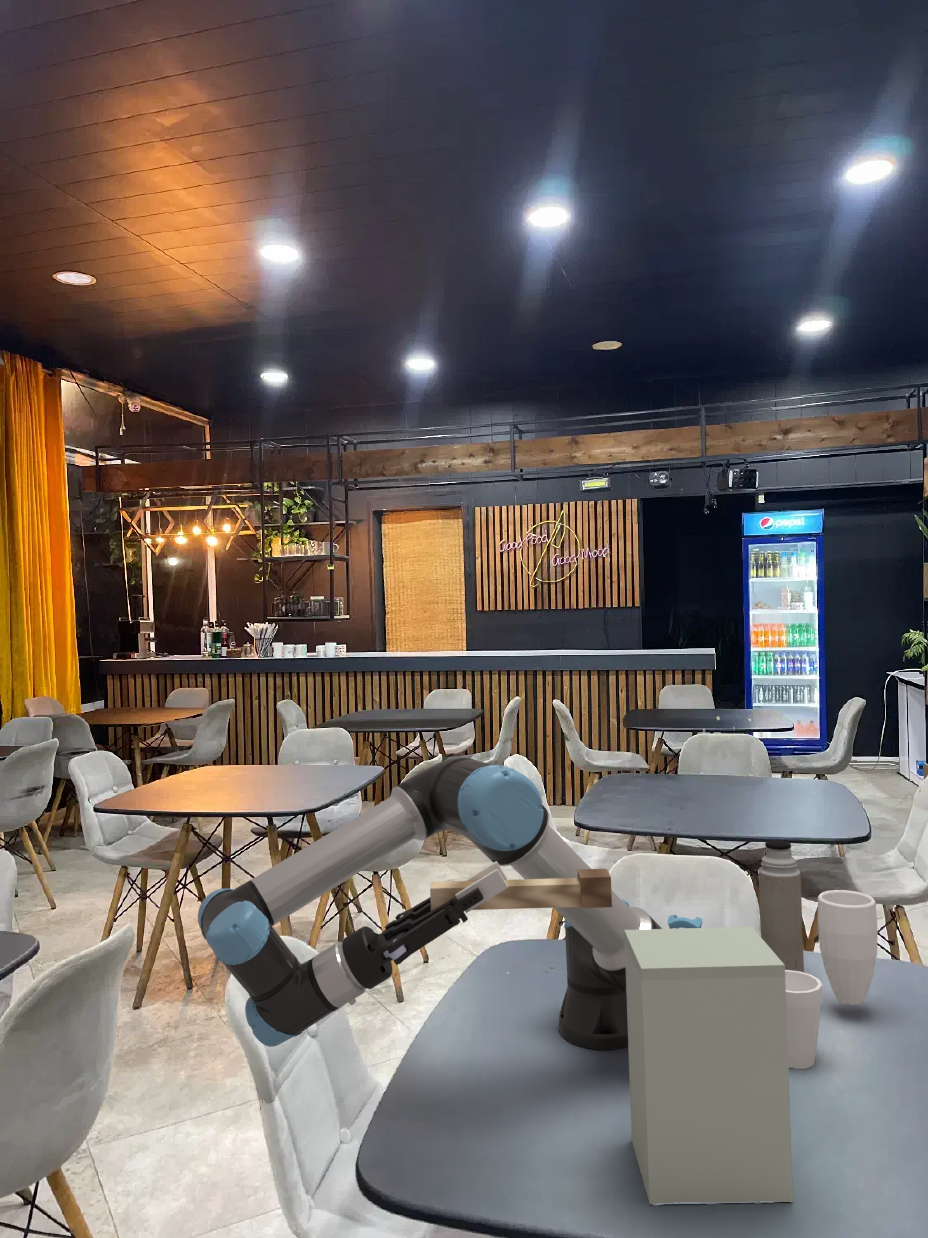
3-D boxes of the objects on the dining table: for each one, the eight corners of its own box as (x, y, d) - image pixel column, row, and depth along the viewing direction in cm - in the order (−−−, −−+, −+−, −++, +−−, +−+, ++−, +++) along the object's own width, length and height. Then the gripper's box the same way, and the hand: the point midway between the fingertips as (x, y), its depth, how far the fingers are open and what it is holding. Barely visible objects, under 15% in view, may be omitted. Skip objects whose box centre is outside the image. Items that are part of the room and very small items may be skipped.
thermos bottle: (796, 973, 183) (791, 836, 183) (810, 989, 175) (805, 846, 175) (757, 974, 183) (752, 838, 183) (769, 990, 175) (764, 848, 175)
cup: (852, 1033, 156) (847, 910, 156) (807, 1010, 166) (803, 894, 166) (895, 1020, 161) (890, 901, 161) (849, 999, 170) (845, 886, 170)
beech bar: (607, 898, 122) (606, 868, 122) (612, 907, 118) (610, 877, 118) (432, 903, 122) (431, 873, 122) (430, 912, 118) (429, 882, 118)
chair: (709, 967, 188) (707, 909, 188) (703, 981, 180) (701, 922, 181) (672, 962, 191) (670, 906, 191) (664, 976, 184) (662, 918, 184)
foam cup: (829, 1076, 143) (826, 994, 143) (768, 1072, 144) (765, 991, 144) (818, 1047, 152) (815, 971, 152) (761, 1044, 154) (758, 968, 154)
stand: (649, 1205, 113) (641, 968, 113) (631, 1141, 127) (624, 930, 127) (793, 1203, 112) (784, 965, 112) (759, 1138, 126) (751, 926, 126)
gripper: (376, 965, 129) (514, 880, 128) (361, 1015, 112) (519, 917, 112) (349, 921, 129) (487, 835, 128) (329, 964, 113) (487, 867, 112)
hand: (501, 874), depth 120 cm, fingers closed on beech bar, 3 cm apart
